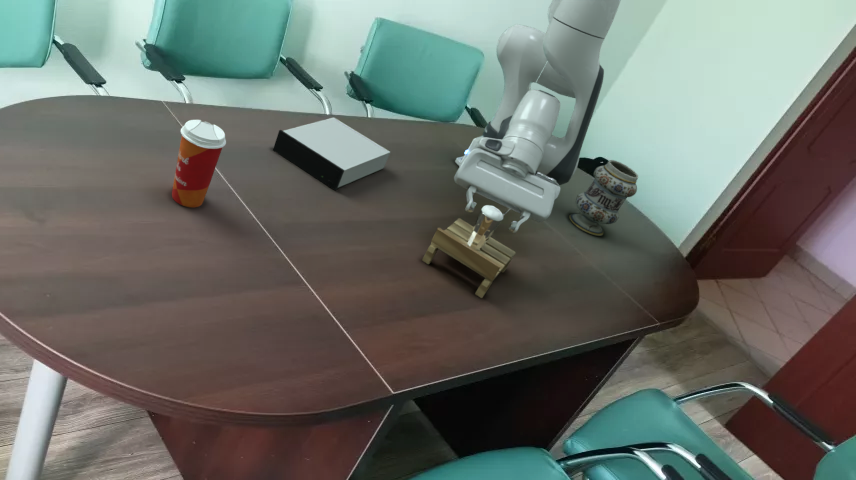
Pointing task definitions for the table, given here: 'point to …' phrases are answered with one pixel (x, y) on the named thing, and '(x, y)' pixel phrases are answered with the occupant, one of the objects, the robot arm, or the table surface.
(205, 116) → the table surface
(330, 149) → the disc drive
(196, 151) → the paper cup
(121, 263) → the table surface
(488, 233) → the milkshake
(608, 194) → the apothecary jar
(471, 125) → the table surface
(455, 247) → the brown wooden slatted bench
